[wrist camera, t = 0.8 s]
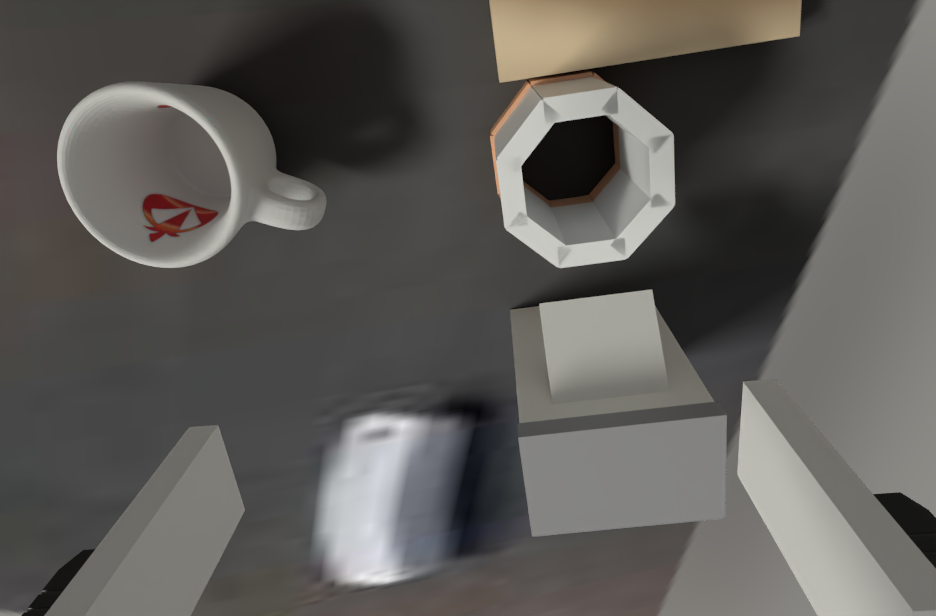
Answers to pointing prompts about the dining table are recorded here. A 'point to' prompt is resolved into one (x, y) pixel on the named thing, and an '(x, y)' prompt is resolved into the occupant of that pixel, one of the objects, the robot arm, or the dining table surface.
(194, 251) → the cup
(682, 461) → the box
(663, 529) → the dining table surface
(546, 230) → the sleeve
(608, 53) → the pin board
